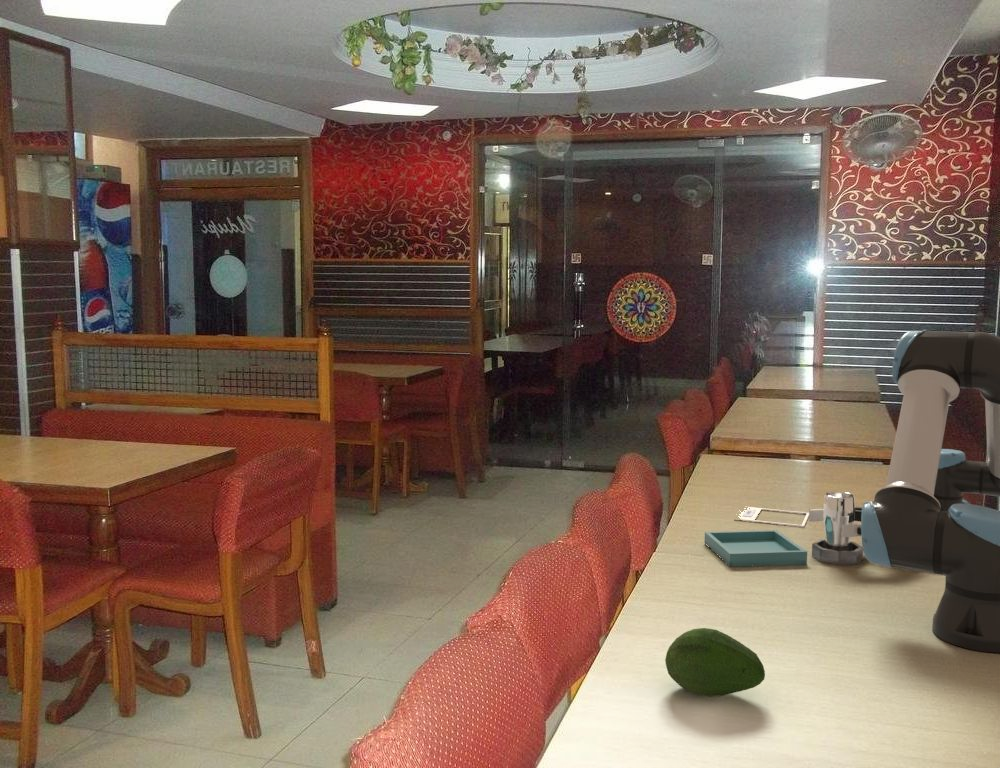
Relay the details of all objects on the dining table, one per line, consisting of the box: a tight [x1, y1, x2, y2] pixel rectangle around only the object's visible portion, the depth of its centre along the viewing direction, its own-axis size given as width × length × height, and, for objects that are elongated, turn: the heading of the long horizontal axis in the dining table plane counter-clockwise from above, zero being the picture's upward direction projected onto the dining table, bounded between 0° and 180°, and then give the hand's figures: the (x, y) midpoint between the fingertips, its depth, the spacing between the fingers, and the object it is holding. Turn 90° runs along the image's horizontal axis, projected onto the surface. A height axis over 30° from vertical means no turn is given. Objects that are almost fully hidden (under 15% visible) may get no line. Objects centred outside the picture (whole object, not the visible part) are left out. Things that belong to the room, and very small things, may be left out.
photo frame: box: [738, 506, 809, 529], centre depth 252 cm, size 15×1×18 cm
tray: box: [704, 529, 808, 567], centre depth 219 cm, size 18×18×3 cm
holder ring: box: [811, 538, 864, 566], centre depth 216 cm, size 10×10×3 cm
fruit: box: [664, 627, 766, 697], centre depth 145 cm, size 15×10×10 cm, turn 65°
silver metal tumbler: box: [822, 491, 856, 551], centre depth 215 cm, size 7×7×15 cm
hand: (825, 523), depth 214 cm, fingers open, 13 cm apart
